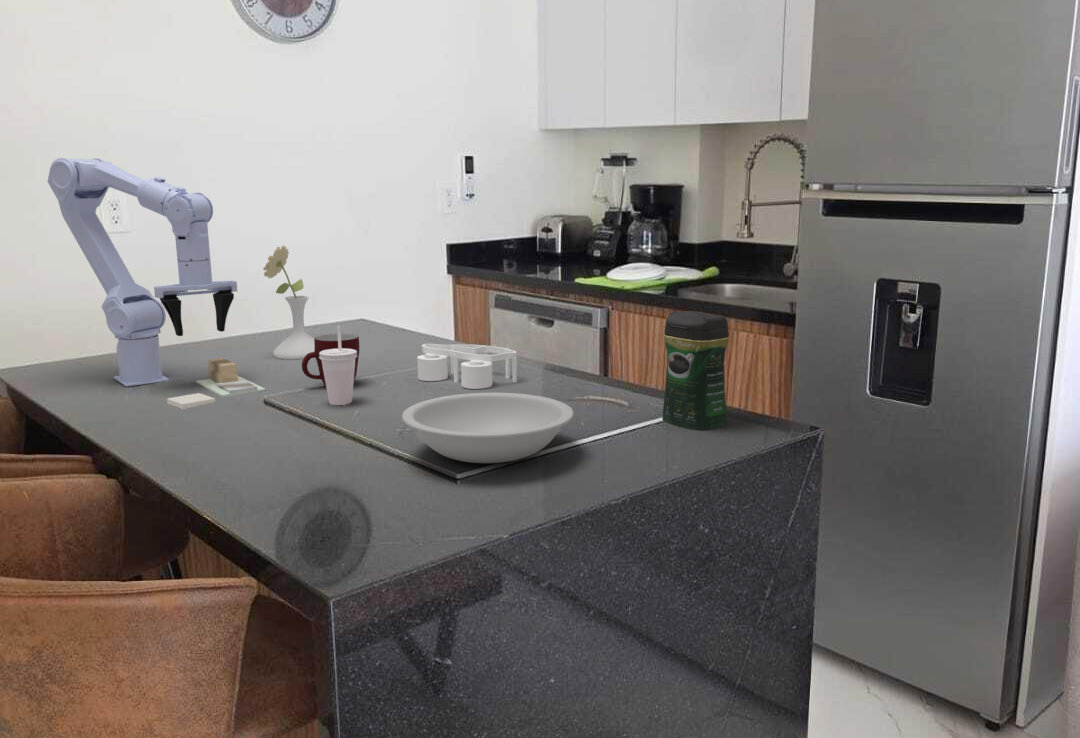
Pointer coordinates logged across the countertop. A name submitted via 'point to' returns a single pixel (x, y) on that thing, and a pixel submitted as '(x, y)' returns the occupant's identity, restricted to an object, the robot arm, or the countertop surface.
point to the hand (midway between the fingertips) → (200, 333)
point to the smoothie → (339, 372)
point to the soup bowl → (488, 425)
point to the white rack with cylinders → (464, 363)
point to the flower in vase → (299, 339)
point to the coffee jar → (695, 370)
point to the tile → (190, 400)
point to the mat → (213, 387)
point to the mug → (330, 343)
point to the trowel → (227, 376)
